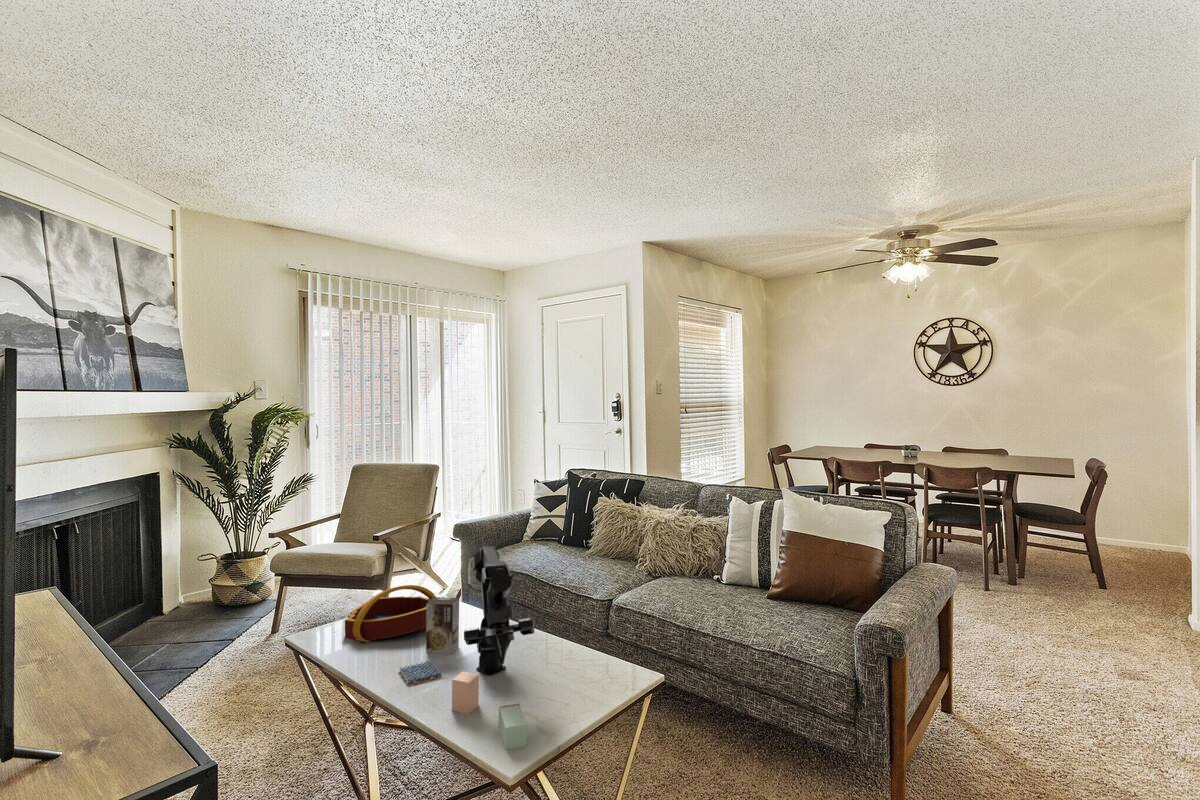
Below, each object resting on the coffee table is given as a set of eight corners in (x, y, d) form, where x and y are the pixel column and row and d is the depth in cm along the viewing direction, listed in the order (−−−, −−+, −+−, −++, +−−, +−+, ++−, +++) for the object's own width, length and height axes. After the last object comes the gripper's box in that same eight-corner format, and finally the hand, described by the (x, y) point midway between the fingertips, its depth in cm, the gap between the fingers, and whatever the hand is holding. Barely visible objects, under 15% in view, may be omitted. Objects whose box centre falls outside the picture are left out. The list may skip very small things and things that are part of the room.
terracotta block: (462, 701, 155) (462, 671, 155) (478, 704, 154) (479, 674, 154) (451, 710, 150) (452, 679, 151) (468, 713, 149) (468, 682, 149)
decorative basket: (417, 613, 228) (414, 574, 229) (462, 619, 210) (459, 577, 211) (332, 640, 202) (329, 596, 203) (375, 650, 183) (372, 602, 185)
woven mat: (407, 688, 163) (407, 681, 163) (397, 674, 171) (397, 667, 172) (443, 679, 169) (443, 672, 169) (431, 665, 177) (432, 659, 177)
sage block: (499, 706, 143) (505, 727, 134) (519, 703, 145) (526, 724, 135) (498, 726, 143) (505, 749, 133) (518, 723, 145) (526, 745, 135)
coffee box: (459, 646, 191) (460, 597, 191) (452, 654, 184) (453, 604, 185) (432, 645, 192) (433, 596, 192) (425, 653, 185) (425, 602, 186)
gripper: (459, 601, 156) (461, 662, 146) (528, 589, 158) (535, 648, 148) (466, 615, 164) (468, 673, 155) (531, 604, 167) (537, 660, 157)
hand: (502, 663), depth 153 cm, fingers closed
